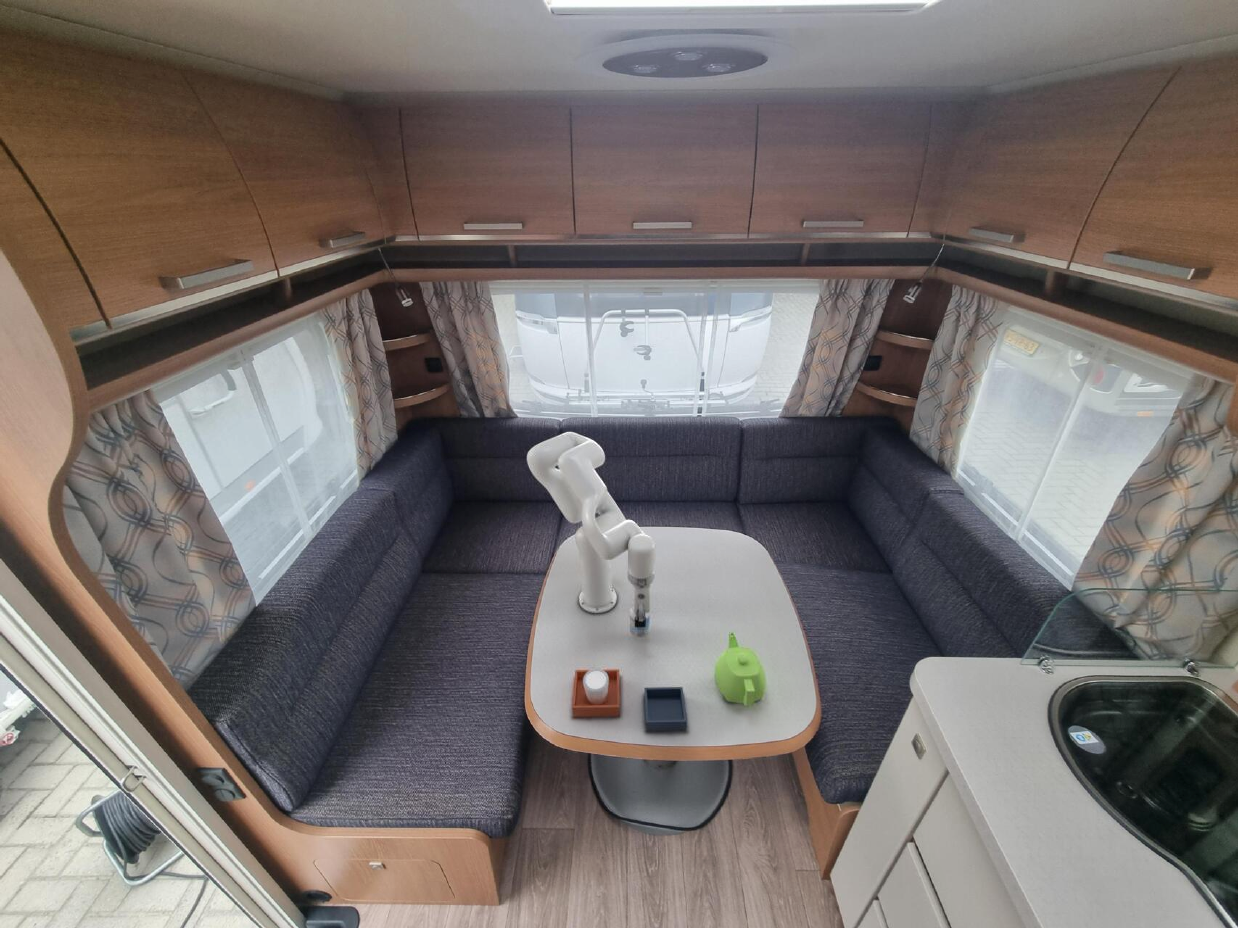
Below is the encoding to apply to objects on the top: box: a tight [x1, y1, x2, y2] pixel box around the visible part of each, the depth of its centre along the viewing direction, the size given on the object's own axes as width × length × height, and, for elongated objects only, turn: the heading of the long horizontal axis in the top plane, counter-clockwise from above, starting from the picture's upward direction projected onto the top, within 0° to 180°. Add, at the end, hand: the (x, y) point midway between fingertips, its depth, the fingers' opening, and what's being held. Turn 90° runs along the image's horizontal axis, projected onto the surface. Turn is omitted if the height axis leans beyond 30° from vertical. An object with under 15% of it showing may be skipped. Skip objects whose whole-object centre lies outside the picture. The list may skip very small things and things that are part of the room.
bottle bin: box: [643, 686, 688, 732], centre depth 128 cm, size 10×10×4 cm
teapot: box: [714, 631, 767, 708], centre depth 132 cm, size 20×13×13 cm
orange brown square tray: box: [571, 668, 621, 718], centre depth 132 cm, size 11×12×4 cm
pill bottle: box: [629, 602, 651, 638], centre depth 147 cm, size 6×6×11 cm
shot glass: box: [583, 668, 609, 705], centre depth 131 cm, size 7×7×7 cm
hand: (639, 616), depth 147 cm, fingers closed on pill bottle, 6 cm apart
